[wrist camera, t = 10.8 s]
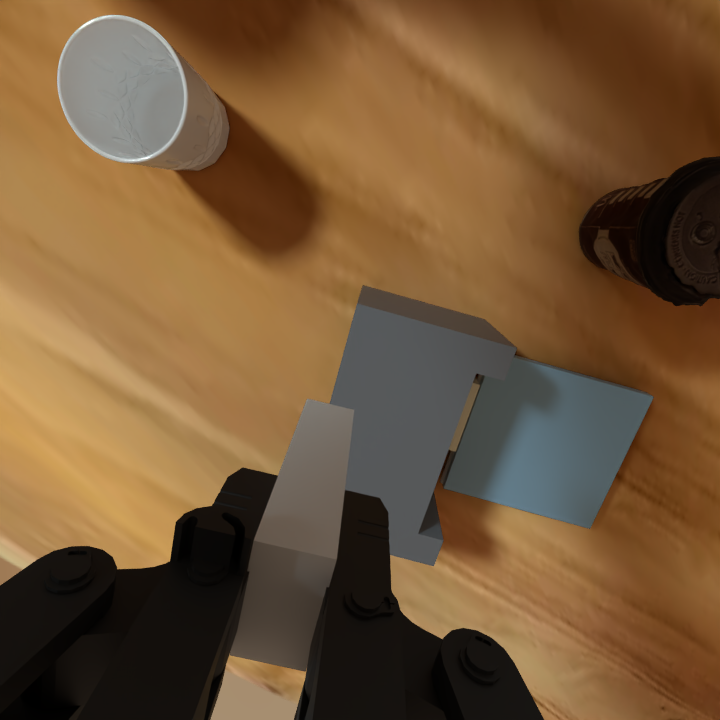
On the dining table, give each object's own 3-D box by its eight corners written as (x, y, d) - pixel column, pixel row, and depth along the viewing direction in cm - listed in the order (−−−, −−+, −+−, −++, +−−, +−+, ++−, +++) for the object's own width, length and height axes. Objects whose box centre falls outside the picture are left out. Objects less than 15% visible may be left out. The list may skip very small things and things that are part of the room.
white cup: (169, 194, 39) (100, 184, 29) (121, 97, 37) (31, 52, 27) (254, 154, 38) (210, 129, 28) (208, 52, 36) (146, -12, 26)
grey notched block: (362, 285, 40) (356, 305, 30) (484, 319, 41) (520, 351, 30) (310, 476, 46) (289, 550, 35) (418, 505, 46) (429, 587, 36)
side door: (491, 351, 40) (653, 397, 40) (486, 345, 41) (641, 389, 42) (441, 487, 43) (590, 528, 44) (439, 476, 45) (581, 516, 45)
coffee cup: (639, 298, 40) (758, 332, 27) (547, 268, 39) (625, 287, 27) (690, 194, 37) (847, 179, 25) (593, 161, 37) (702, 127, 24)
